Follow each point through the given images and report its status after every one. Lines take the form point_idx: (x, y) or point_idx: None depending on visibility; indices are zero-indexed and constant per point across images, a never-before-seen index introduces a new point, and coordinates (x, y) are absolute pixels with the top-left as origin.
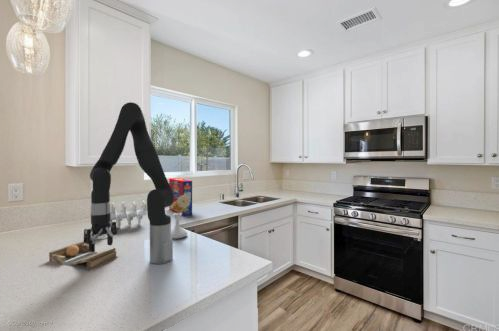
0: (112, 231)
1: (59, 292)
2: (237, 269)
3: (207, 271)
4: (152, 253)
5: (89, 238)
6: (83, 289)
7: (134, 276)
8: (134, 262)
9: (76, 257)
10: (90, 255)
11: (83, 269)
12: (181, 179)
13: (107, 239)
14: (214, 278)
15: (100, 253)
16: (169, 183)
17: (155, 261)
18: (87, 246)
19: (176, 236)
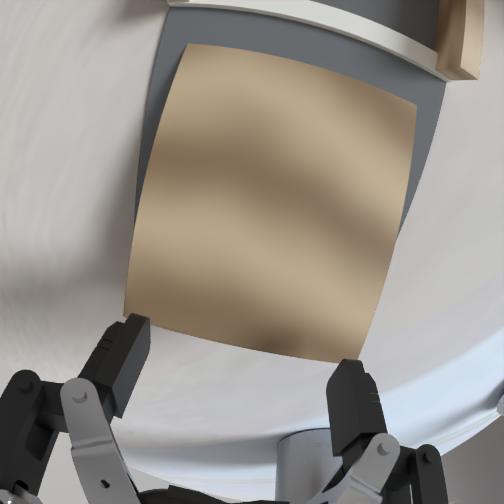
0: (423, 475)
1: (9, 279)
2: (270, 500)
3: (253, 488)
4: (278, 474)
5: (39, 454)
6: (51, 337)
7: (177, 425)
8: (287, 401)
9: (293, 10)
10: (378, 85)
11: (134, 227)
12: None
13: (354, 408)
14: (227, 491)
15: (257, 302)
16: None
17: (277, 453)
18: (462, 12)
19: (501, 406)
